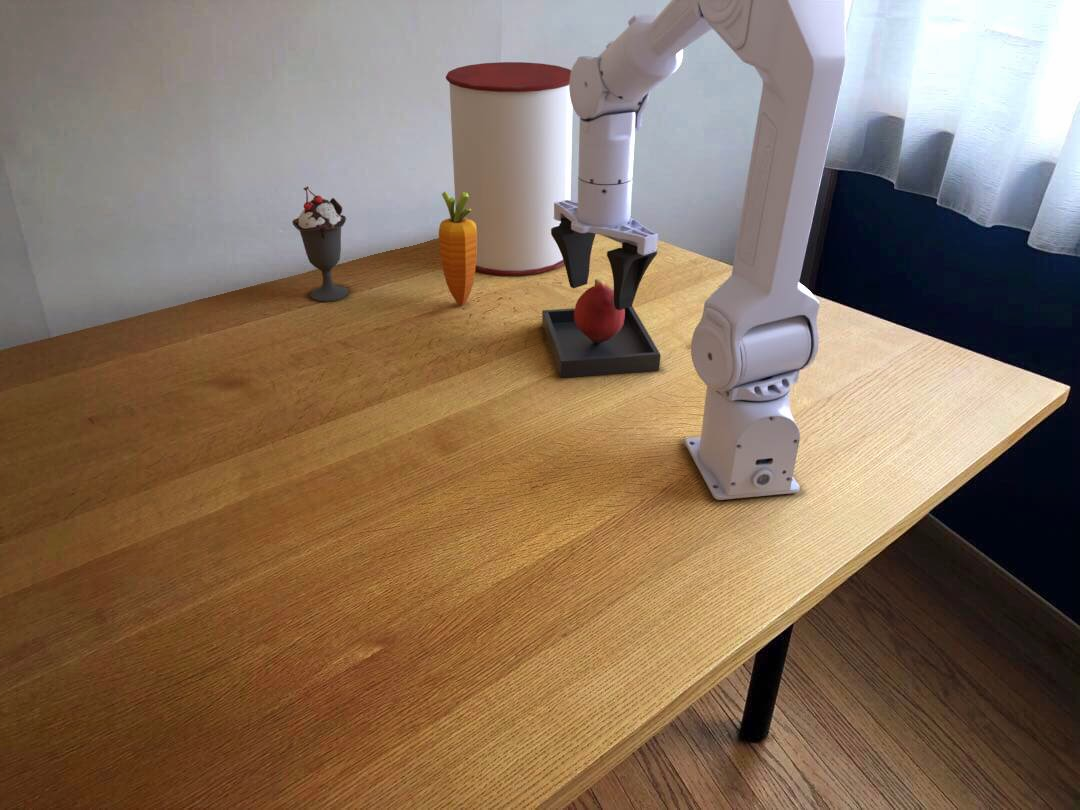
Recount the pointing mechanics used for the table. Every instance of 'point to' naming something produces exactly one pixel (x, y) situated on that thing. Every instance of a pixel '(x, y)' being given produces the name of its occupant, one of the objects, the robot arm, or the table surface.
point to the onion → (598, 313)
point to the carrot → (458, 248)
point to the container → (512, 160)
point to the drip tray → (599, 346)
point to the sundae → (322, 242)
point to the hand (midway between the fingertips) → (600, 296)
